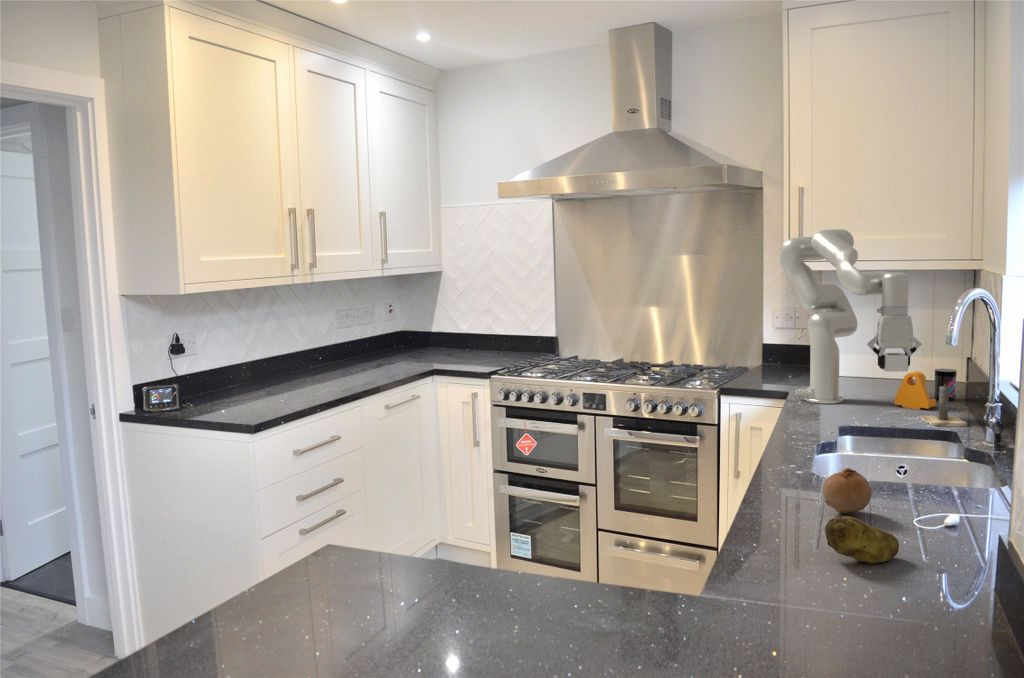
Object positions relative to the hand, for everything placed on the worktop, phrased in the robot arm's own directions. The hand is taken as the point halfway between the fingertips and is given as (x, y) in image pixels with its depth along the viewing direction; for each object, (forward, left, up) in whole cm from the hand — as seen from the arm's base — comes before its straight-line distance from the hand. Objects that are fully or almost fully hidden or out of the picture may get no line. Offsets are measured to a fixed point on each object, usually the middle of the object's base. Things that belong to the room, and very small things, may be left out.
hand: (893, 367), depth 252 cm
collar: (0, 0, -1) cm, 1 cm away
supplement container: (+24, +27, -16) cm, 39 cm away
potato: (-38, -119, -16) cm, 126 cm away
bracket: (+11, +15, -16) cm, 24 cm away
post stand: (+12, -8, -16) cm, 22 cm away
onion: (-35, -94, -16) cm, 102 cm away
